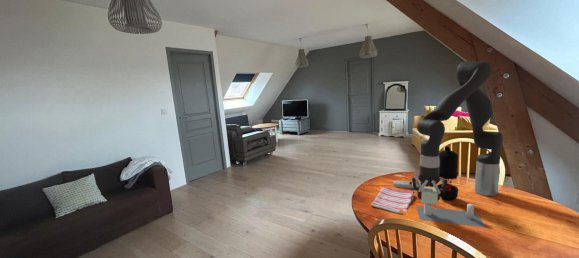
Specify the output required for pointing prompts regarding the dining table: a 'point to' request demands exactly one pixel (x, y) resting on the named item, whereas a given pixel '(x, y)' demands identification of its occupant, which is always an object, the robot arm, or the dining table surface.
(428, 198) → the collar
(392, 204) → the dish towel
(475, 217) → the board
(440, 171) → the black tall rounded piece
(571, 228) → the dining table surface
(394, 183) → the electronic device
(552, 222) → the dining table surface
